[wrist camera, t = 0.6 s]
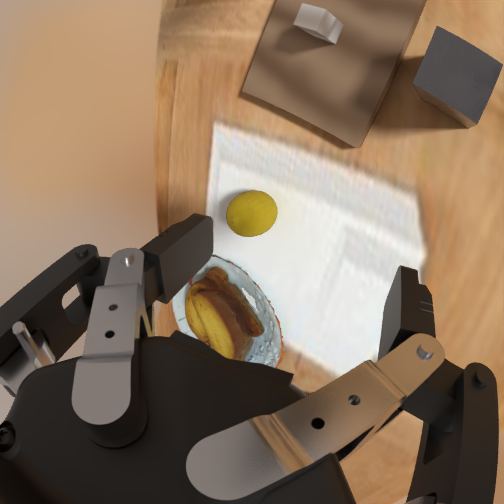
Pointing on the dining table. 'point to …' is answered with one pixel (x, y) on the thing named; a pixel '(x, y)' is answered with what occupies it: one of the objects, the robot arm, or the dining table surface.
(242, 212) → the lemon
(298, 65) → the flat brown board
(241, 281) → the food on plate
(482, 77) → the dark grey box
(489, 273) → the dining table surface
